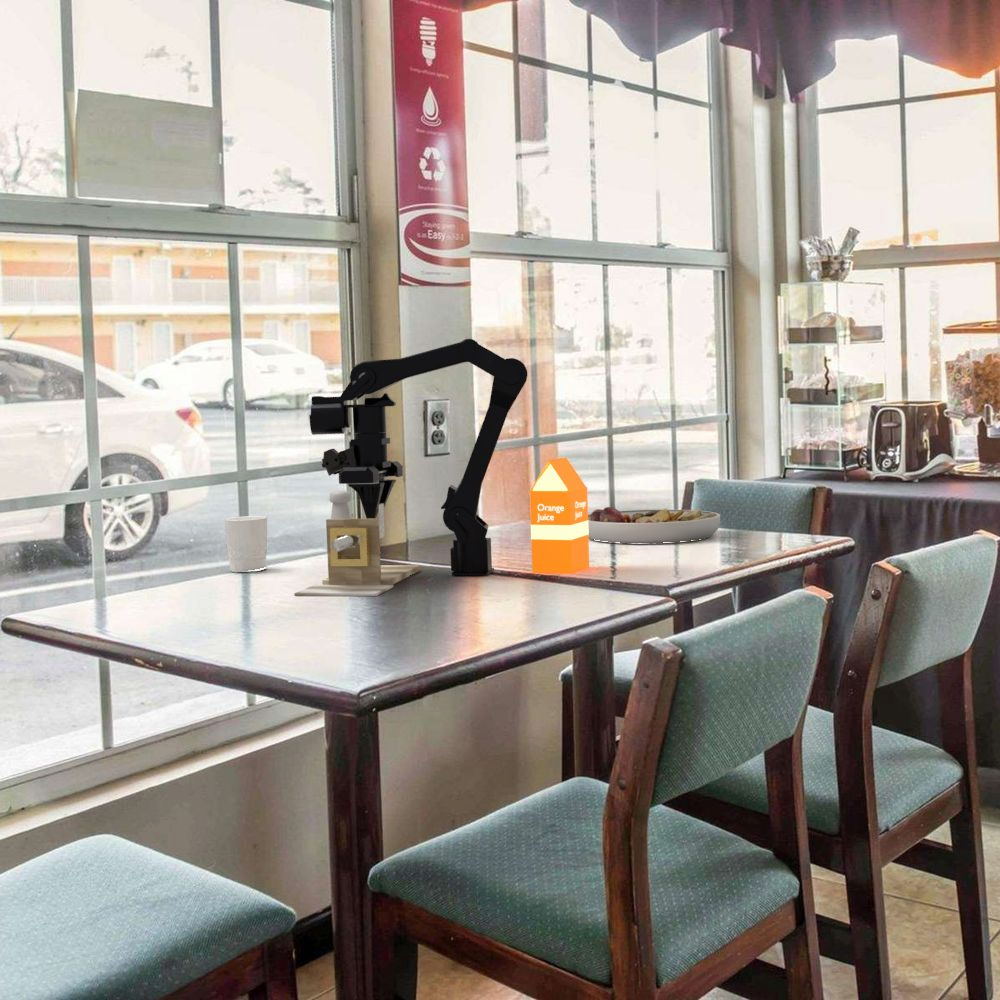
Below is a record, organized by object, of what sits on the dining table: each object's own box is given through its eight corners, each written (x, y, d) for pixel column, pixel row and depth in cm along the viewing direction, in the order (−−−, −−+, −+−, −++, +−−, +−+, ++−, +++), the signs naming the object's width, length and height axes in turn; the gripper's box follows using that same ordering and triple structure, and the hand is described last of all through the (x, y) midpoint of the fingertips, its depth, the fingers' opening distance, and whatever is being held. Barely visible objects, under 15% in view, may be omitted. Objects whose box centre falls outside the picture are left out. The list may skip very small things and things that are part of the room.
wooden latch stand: (352, 570, 238) (349, 509, 237) (425, 570, 235) (422, 508, 234) (294, 595, 210) (291, 525, 209) (376, 595, 207) (373, 524, 206)
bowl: (643, 528, 298) (642, 494, 298) (749, 536, 276) (748, 499, 276) (551, 541, 278) (550, 505, 278) (657, 550, 256) (656, 511, 255)
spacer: (334, 565, 218) (332, 527, 217) (370, 565, 216) (368, 527, 216) (331, 566, 216) (329, 528, 216) (367, 566, 215) (366, 528, 214)
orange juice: (590, 567, 233) (587, 456, 232) (572, 573, 225) (569, 459, 224) (550, 566, 237) (547, 457, 235) (531, 572, 229) (527, 460, 227)
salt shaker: (351, 555, 263) (348, 491, 261) (324, 555, 264) (321, 492, 263) (359, 551, 268) (357, 489, 267) (333, 551, 269) (331, 489, 268)
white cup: (277, 568, 246) (274, 515, 245) (256, 573, 239) (253, 520, 238) (240, 567, 249) (238, 515, 248) (219, 573, 241) (216, 520, 241)
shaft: (368, 536, 231) (367, 503, 230) (384, 536, 230) (383, 503, 230) (328, 551, 210) (327, 514, 210) (346, 551, 210) (344, 514, 209)
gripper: (344, 432, 238) (347, 516, 240) (308, 436, 220) (312, 527, 221) (402, 430, 236) (405, 515, 237) (370, 434, 218) (374, 526, 219)
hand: (373, 520), depth 229 cm, fingers closed on shaft, 3 cm apart
